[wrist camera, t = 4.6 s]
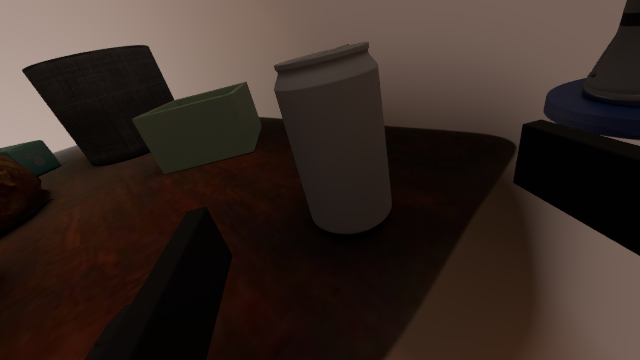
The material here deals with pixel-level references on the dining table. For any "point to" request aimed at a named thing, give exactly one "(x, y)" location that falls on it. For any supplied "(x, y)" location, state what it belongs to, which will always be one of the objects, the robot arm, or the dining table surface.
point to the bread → (18, 193)
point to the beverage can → (337, 136)
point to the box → (32, 156)
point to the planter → (102, 98)
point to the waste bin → (201, 128)
